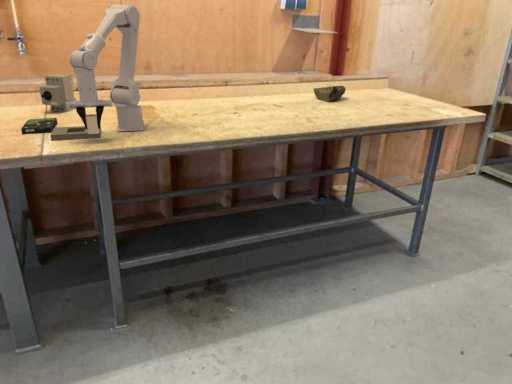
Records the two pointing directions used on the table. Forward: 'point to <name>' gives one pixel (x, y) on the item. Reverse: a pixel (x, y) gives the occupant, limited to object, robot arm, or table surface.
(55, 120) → the disk drive
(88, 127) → the block
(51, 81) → the circuit breaker
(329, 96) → the concrete fragment
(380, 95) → the table surface
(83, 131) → the outlet plate
